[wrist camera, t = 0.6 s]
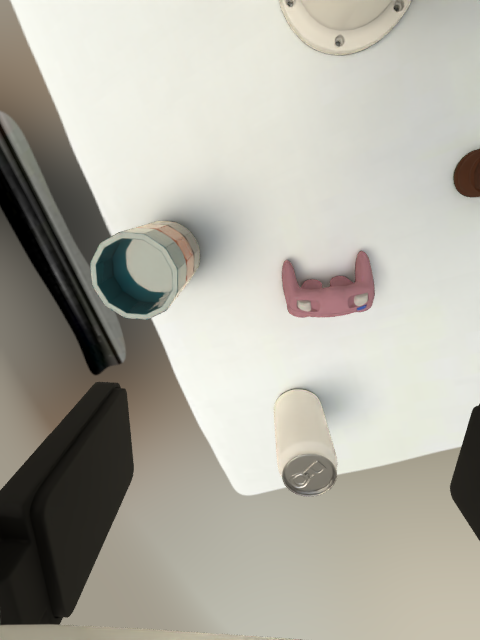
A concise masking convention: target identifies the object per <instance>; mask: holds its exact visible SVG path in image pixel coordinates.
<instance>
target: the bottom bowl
mask: <svg viewBox="0 0 480 640" xmlns="http://www.w3.org/2000/svg"><path fill="white" fill-rule="evenodd" d="M149 224H161V225H167V226H169V227H171V228H173V229H175V230H177V231H178V232H179V233H181V234H182V235H183V236H184V237H185V239H186V240H187V241H188V243H189V245H190V247H191V249H192V252H193V255H194V269H193V275H194V274H195V272H196V270H197V269H198V267H199V262H200V249H199V246H198V243H197V241H196V239H195V237H194V236H193V234H192V233H191V232H190V231H189V230H188V229H187V228H185V227H184V226H182V225H181V224H178V223H177V222H171V221H156V222H153V223H149ZM193 275H192V276H191V278H192V277H193ZM191 278H190V280H191ZM190 280H189V281H190ZM189 281H188V282H189ZM187 284H188V283H187ZM187 284H186V285H187Z"/></svg>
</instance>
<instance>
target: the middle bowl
mask: <svg viewBox="0 0 480 640" xmlns="http://www.w3.org/2000/svg"><path fill="white" fill-rule="evenodd" d="M136 228H151V229H156V230H158V231H160V232H163V233H164V234H166V235H168V236H169V237H170V238H172V239H173V240H174V241H175V242H176V243H177V245H178V246H179V247H180V249H181V251H182V253H183V255H184V257H185V260H186V265H187V276H186V283H185V285H184V286H183V288H182V290H183V289H184V287H185V286H186V284H187V283H188V281H189V280H190V278H191V276H192V275H193V269H194V255H193V252H192V249H191V247H190V245H189V243H188V241H187V240H186V239H185V237H184V236H183V235H182V234H181V233H179V232H178V231H177V230H175V229H173V228H171V227H169V226H167V225H161V224H146V225H142V226H139V227H136ZM182 290H181V291H182ZM181 291H180V293H181ZM180 293H179V294H180ZM179 294H178V295H179ZM177 297H178V296H177Z"/></svg>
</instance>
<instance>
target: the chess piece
mask: <svg viewBox="0 0 480 640" xmlns="http://www.w3.org/2000/svg"><path fill="white" fill-rule="evenodd" d="M454 184H455V187H456V189H457V190H458V191H459V192H460V193H461V194H462V195H464V196H467V197H480V149H478V150H474V151H472V152H470V153H468V154H467V155H466V156H464V157H463V158H462V159H461V161H460V162H459V163H458V165H457V167H456V169H455V172H454Z"/></svg>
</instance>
